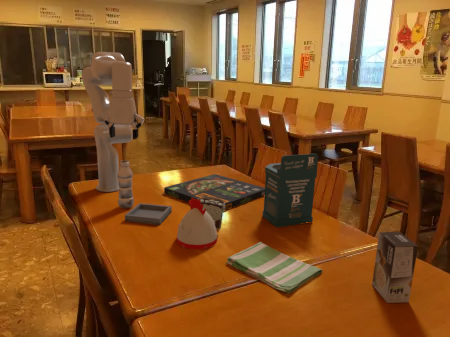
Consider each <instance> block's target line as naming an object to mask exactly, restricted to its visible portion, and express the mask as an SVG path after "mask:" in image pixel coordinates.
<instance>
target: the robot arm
mask: <svg viewBox="0 0 450 337" xmlns="http://www.w3.org/2000/svg"><path fill="white" fill-rule="evenodd" d="M90 60H91V63H90V66H88V67H87V66H86V67H85V68H83V69H82V71H81V79H82V83H83V86H84V89H85V92H86V93H87V95H88V97H89V99H90V104H91V110H92V116H93V118H94V121H95V122H97V123H98V124H97V125H95V127H94V129H93V136H94V140H95V145H96V156H97V157H96V158H97V171H98V173H97V174H98V175H97V176H98V184H97V185H96V186H95V190H96V191H98V192H101V193H102V192H103V193H113V192H119V183H118V178H117V172H118V170H119V169H120V161H119V152H118V150H117V148H115V147H114V145H113V144H123V143H125V144H126V143H129V142H132V140H137V139H138V138H139V129H140V128H141V127H142V126H143V123H144V122H145V118H144V117H143V116H141V115H139V114H137V105H136V102H135V98H133V70H132V69H133V68H132V66H133V65H132V63H130V62H128V61H126V59H125V57H124V56H123V54H122V53H121V52H113V51H110V52H109V51H98V52H95V53H94V54H93V55H92V56H91V59H90ZM99 85H100V86H99ZM102 85H103V86H109V85H110V86H111V88H112V89H111V90H109V92H108V93H107V92H106V90H105V89H104V88H102V87H101V86H102ZM109 95H111V96H112V97H110V96H109ZM137 120H139V121H138V123H137Z"/></svg>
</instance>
